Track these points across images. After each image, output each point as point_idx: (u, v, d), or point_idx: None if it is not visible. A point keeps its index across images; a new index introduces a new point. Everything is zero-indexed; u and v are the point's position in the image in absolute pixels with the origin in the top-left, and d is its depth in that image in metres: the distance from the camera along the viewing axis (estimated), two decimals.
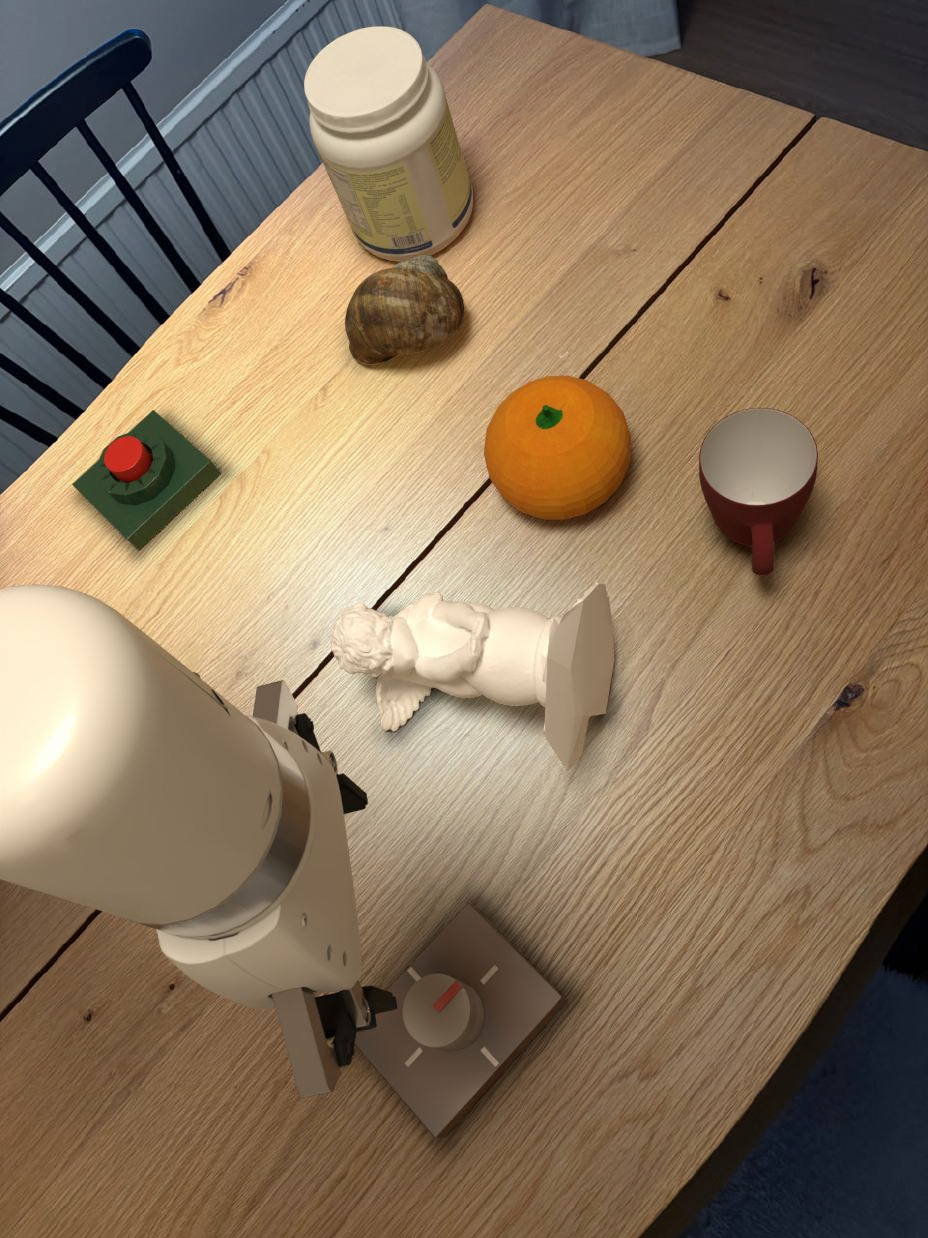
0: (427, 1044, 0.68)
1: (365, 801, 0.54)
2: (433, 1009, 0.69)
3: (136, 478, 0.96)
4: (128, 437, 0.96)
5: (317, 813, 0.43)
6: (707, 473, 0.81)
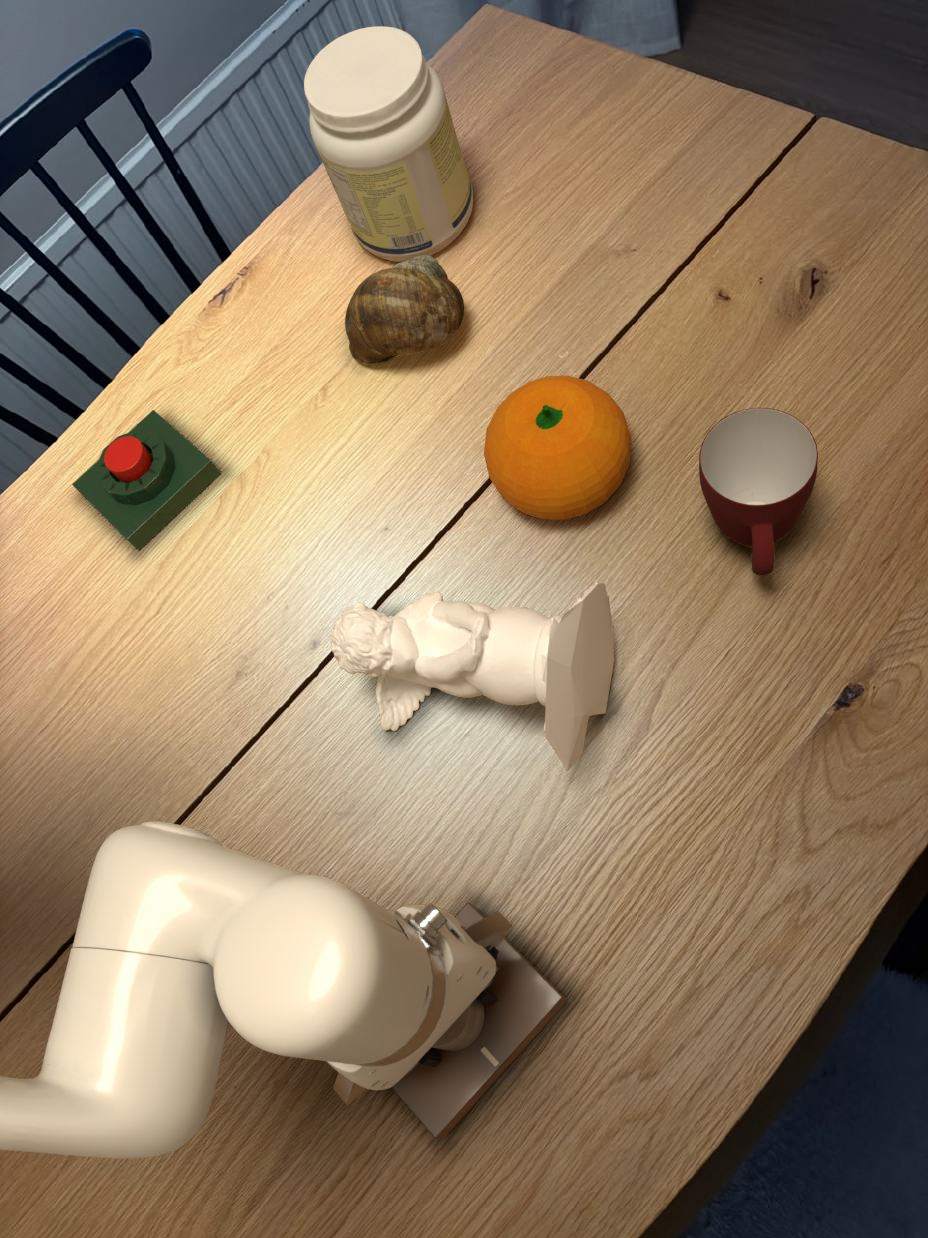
0: None
1: (491, 1004, 0.72)
2: None
3: (136, 478, 0.96)
4: (128, 437, 0.96)
5: (443, 1016, 0.61)
6: (707, 473, 0.81)
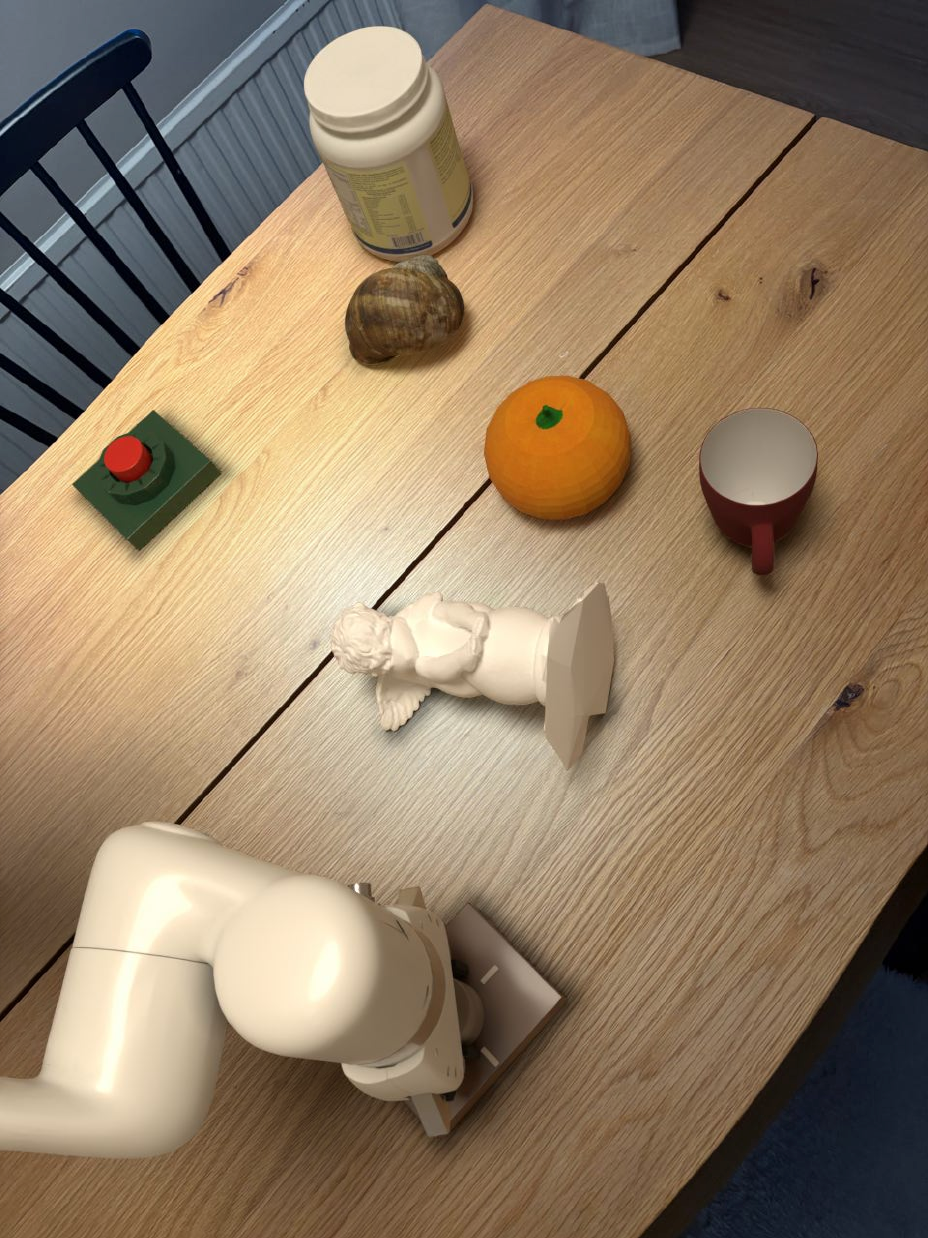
0: None
1: (467, 972, 0.73)
2: None
3: (136, 478, 0.96)
4: (128, 437, 0.96)
5: None
6: (707, 473, 0.81)
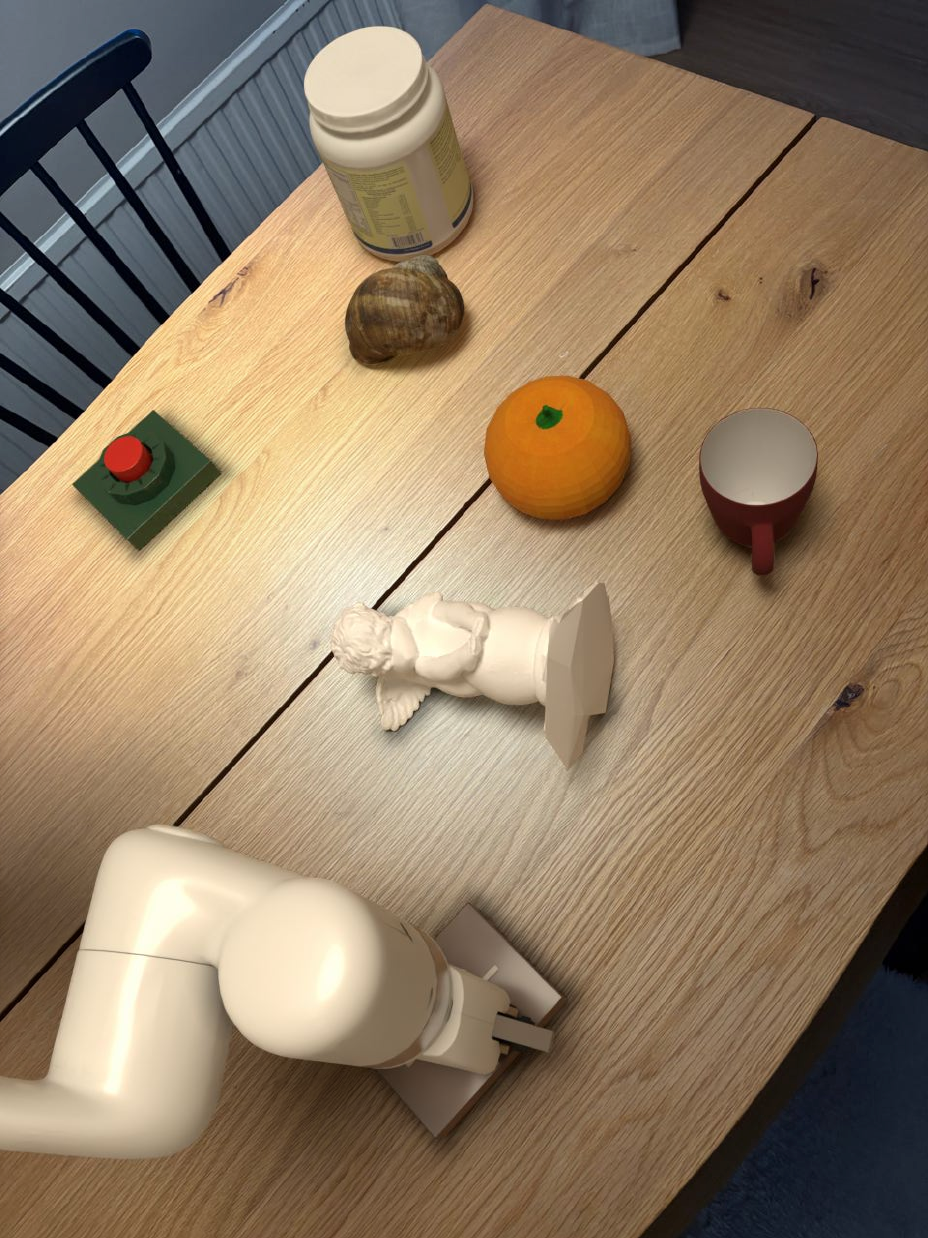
0: None
1: None
2: None
3: (136, 478, 0.96)
4: (128, 437, 0.96)
5: None
6: (707, 473, 0.81)
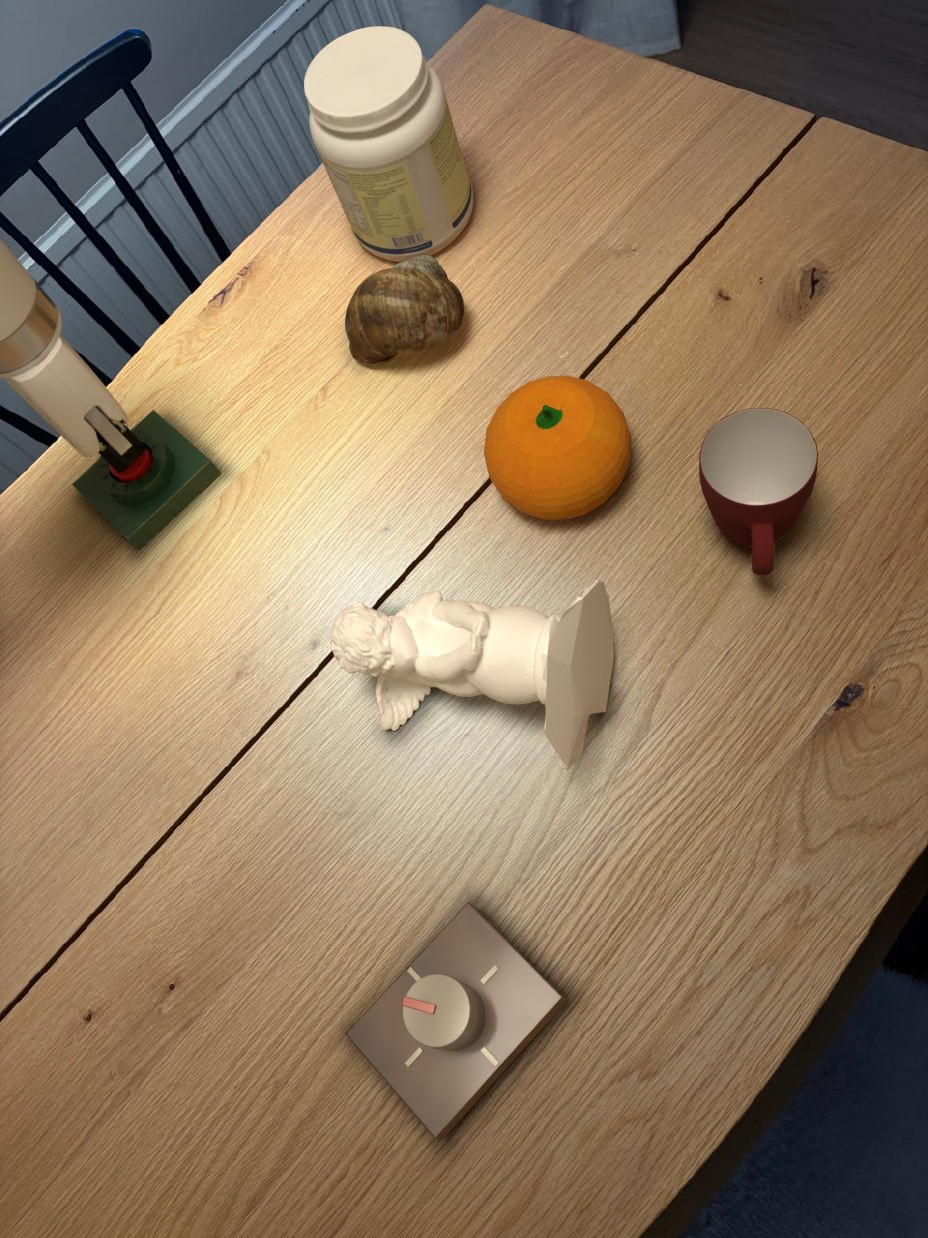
0: (467, 1000, 0.69)
1: None
2: (436, 1013, 0.69)
3: None
4: None
5: None
6: (707, 473, 0.81)
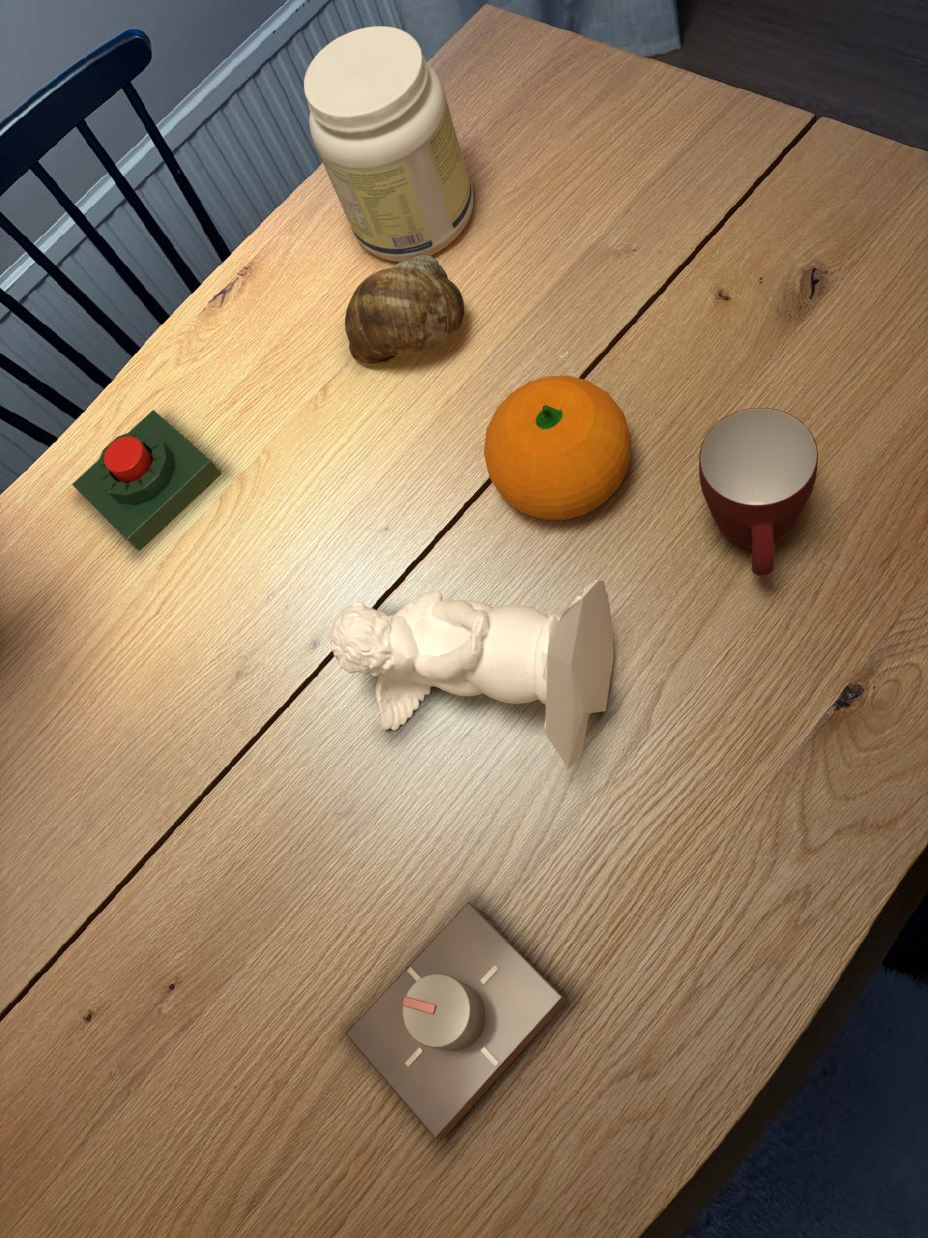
0: (467, 1000, 0.69)
1: None
2: (436, 1013, 0.69)
3: (136, 478, 0.96)
4: (128, 437, 0.96)
5: None
6: (707, 473, 0.81)
